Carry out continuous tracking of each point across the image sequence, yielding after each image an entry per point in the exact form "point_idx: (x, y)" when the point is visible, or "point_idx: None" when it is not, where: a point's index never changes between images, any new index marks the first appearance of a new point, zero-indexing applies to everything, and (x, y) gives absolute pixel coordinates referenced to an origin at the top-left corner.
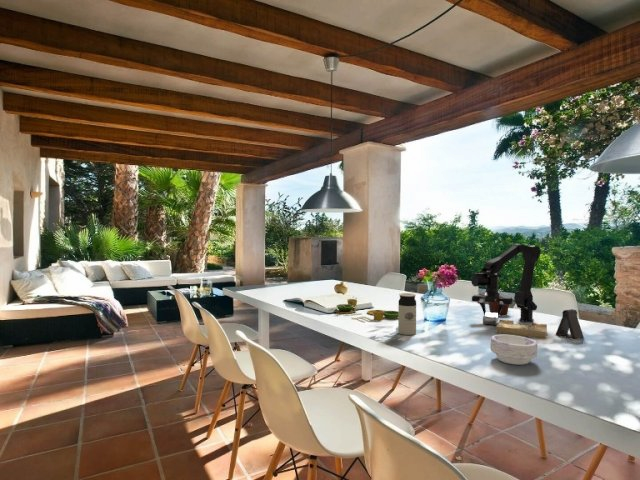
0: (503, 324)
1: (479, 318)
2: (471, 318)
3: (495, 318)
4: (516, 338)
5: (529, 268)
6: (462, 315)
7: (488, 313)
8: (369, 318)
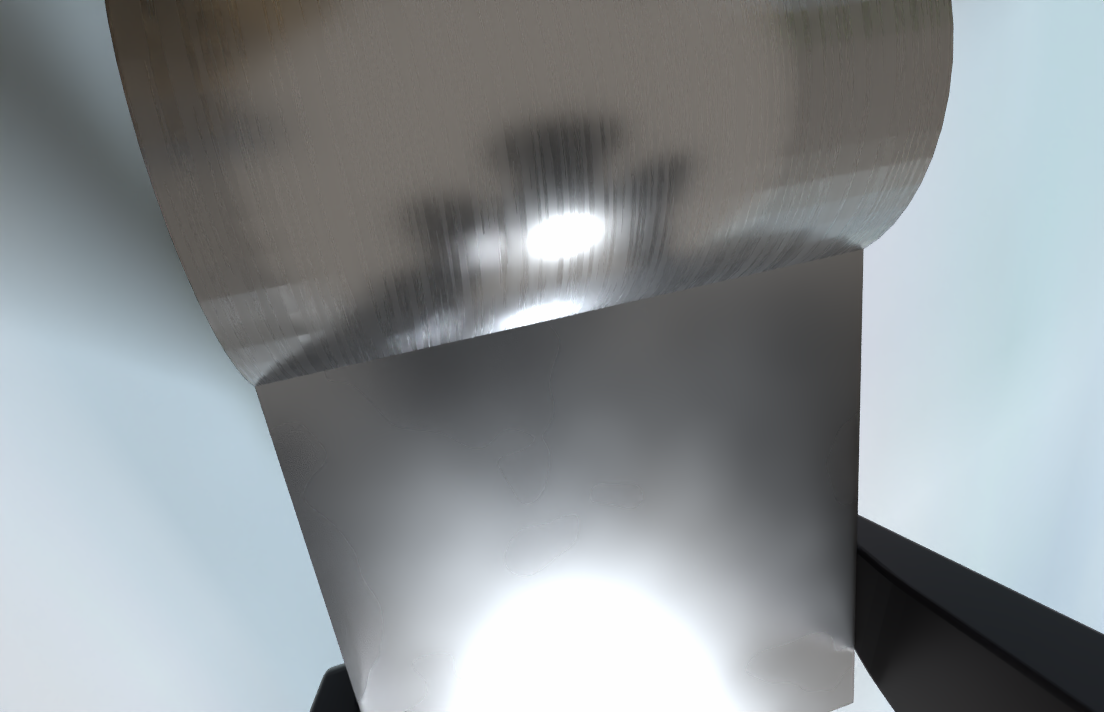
0: None
1: None
2: (983, 508)
3: (153, 26)
4: None
5: None
6: (1095, 592)
7: (760, 661)
8: None
